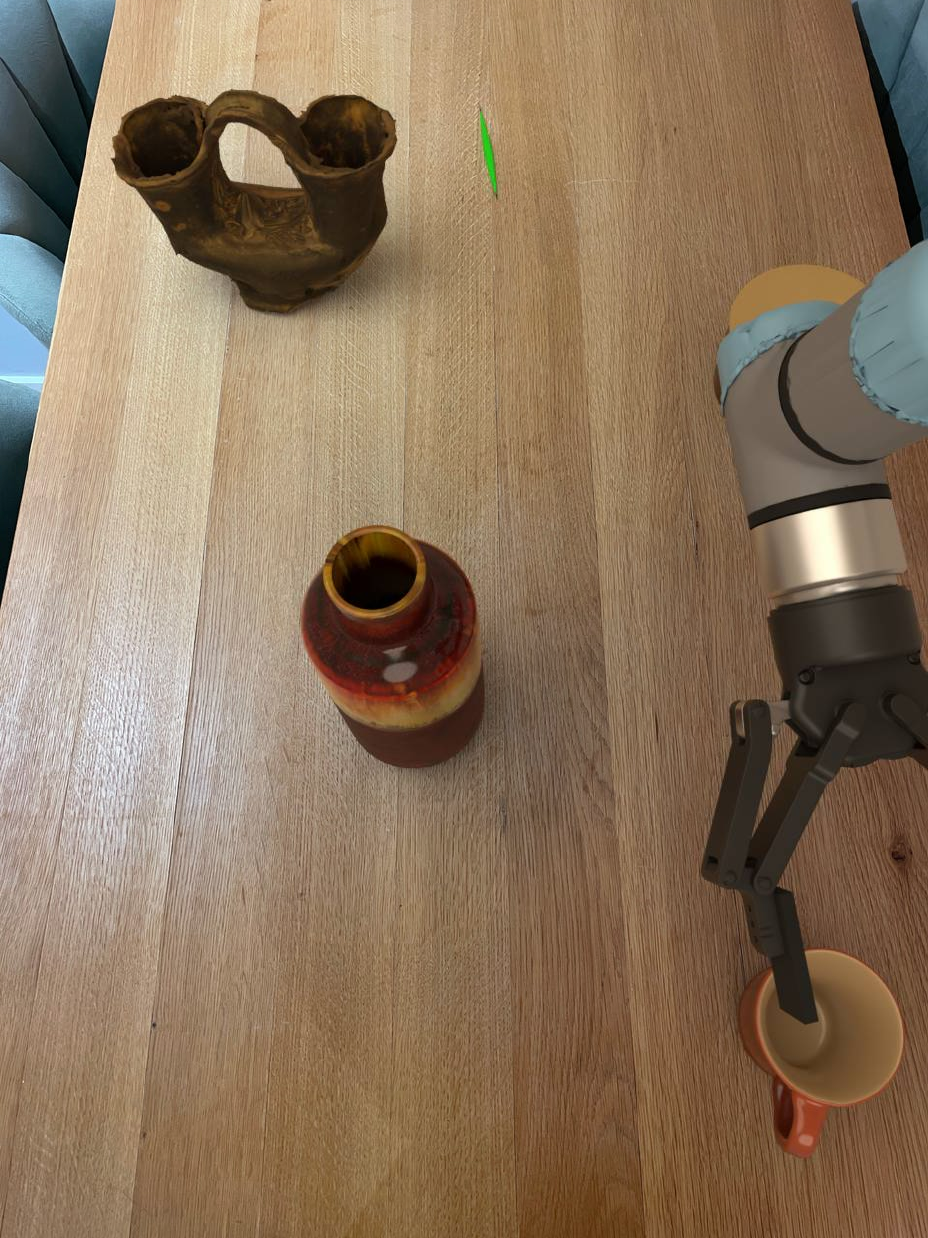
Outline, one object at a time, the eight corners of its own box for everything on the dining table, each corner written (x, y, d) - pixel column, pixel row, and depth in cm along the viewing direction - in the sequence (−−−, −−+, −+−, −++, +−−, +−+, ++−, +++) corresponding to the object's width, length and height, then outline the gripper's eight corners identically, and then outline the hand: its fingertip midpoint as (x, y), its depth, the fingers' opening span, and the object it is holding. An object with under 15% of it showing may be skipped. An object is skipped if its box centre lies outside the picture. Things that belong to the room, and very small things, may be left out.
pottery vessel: (421, 236, 96) (399, 52, 77) (412, 322, 92) (387, 148, 73) (180, 235, 97) (104, 54, 79) (161, 318, 93) (76, 148, 75)
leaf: (492, 203, 97) (492, 197, 97) (475, 108, 103) (475, 102, 102) (501, 202, 97) (501, 196, 97) (483, 107, 103) (483, 101, 102)
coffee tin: (855, 329, 89) (886, 267, 81) (864, 450, 83) (898, 395, 76) (711, 322, 90) (728, 260, 82) (711, 441, 85) (730, 387, 77)
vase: (332, 676, 78) (250, 523, 54) (456, 628, 79) (431, 457, 55) (377, 800, 73) (310, 694, 49) (508, 747, 75) (504, 618, 51)
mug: (736, 939, 68) (772, 927, 59) (859, 981, 67) (916, 975, 57) (697, 1116, 64) (729, 1133, 55) (827, 1164, 62) (883, 1191, 53)
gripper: (990, 569, 57) (1069, 922, 55) (598, 636, 53) (670, 1017, 52) (1087, 547, 50) (1182, 953, 48) (641, 623, 46) (726, 1066, 44)
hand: (917, 987), depth 50 cm, fingers open, 13 cm apart
